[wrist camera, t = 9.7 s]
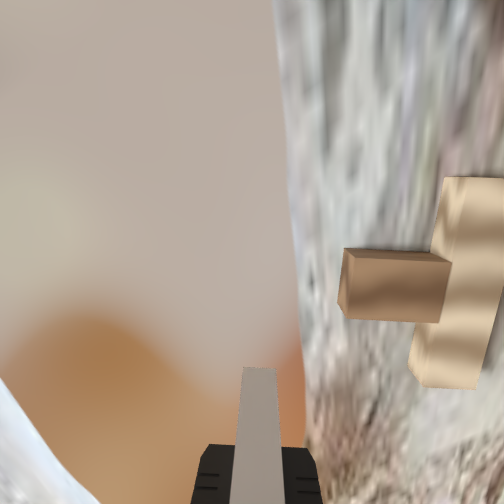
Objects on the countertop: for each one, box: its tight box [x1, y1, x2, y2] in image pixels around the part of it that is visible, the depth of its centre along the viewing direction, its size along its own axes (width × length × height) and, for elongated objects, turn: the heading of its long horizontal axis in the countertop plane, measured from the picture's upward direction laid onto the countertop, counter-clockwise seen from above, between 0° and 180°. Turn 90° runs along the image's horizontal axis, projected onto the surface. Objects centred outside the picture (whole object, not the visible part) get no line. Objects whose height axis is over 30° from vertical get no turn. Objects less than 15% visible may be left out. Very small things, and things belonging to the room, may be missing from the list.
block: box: [337, 248, 452, 324], centre depth 34 cm, size 7×10×4 cm
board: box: [407, 177, 504, 390], centre depth 33 cm, size 24×6×4 cm, turn 178°
